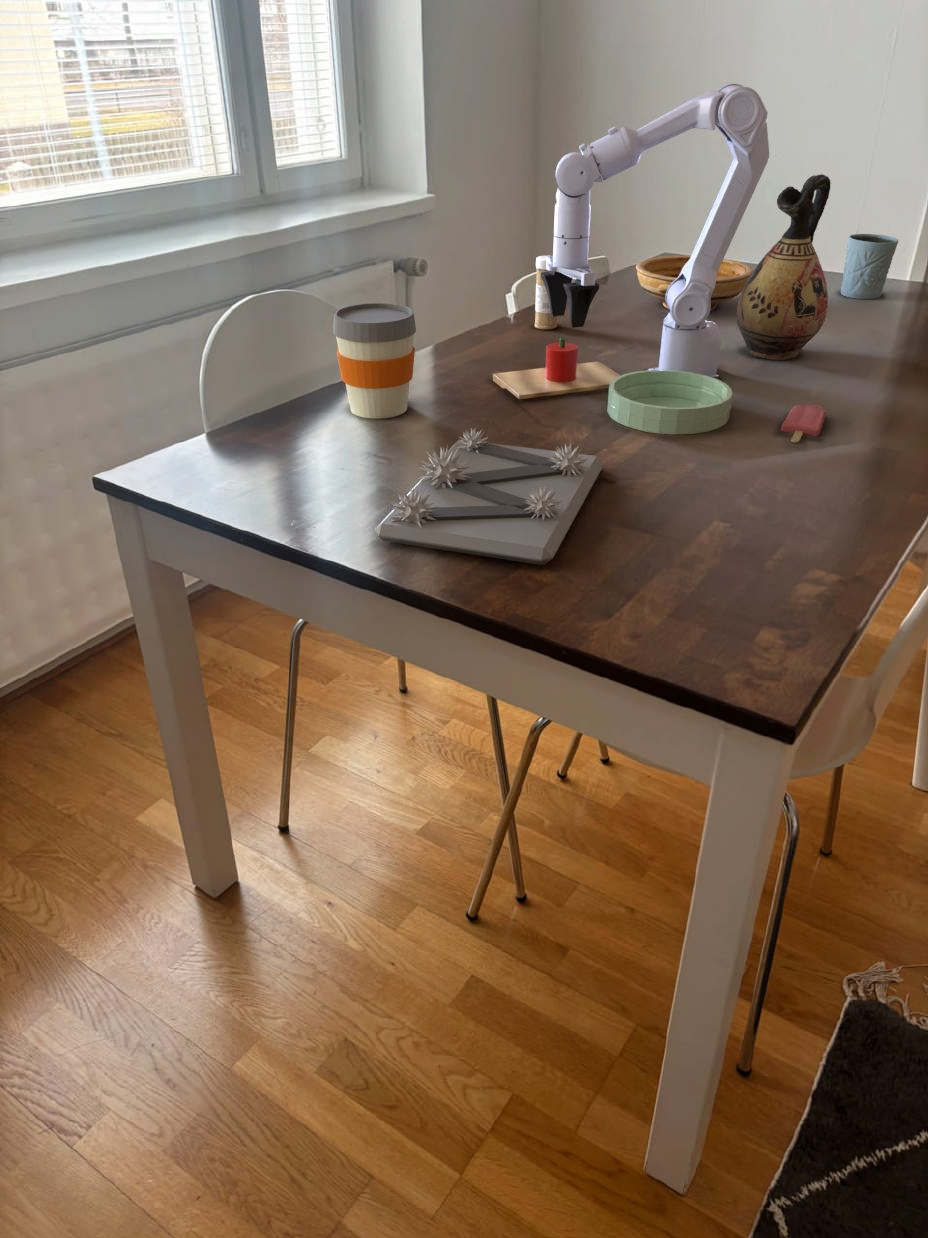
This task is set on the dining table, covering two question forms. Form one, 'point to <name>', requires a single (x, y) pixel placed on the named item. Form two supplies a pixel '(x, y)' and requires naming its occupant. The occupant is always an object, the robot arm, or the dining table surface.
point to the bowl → (669, 402)
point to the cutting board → (538, 385)
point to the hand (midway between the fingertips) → (567, 320)
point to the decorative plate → (494, 500)
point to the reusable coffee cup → (376, 356)
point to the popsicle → (804, 421)
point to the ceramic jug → (787, 281)
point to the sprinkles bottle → (543, 299)
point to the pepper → (561, 361)
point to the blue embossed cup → (867, 265)
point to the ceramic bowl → (667, 269)
